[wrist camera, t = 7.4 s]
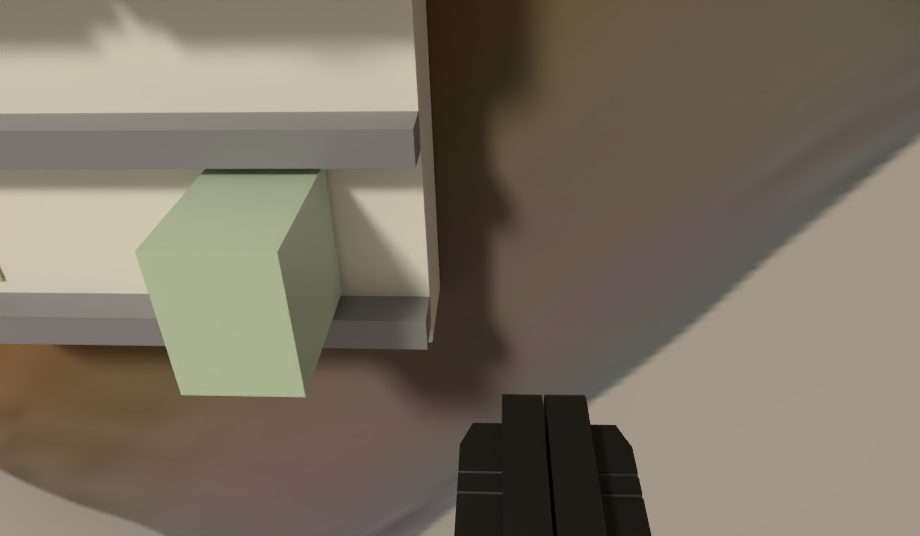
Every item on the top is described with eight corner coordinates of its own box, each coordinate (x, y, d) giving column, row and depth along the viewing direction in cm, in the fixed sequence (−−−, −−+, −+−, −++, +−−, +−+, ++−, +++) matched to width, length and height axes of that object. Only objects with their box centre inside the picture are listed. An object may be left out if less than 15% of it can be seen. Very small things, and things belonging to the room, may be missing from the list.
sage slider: (210, 162, 18) (134, 251, 14) (323, 163, 18) (277, 251, 14) (240, 290, 20) (181, 395, 17) (342, 291, 20) (305, 397, 16)
